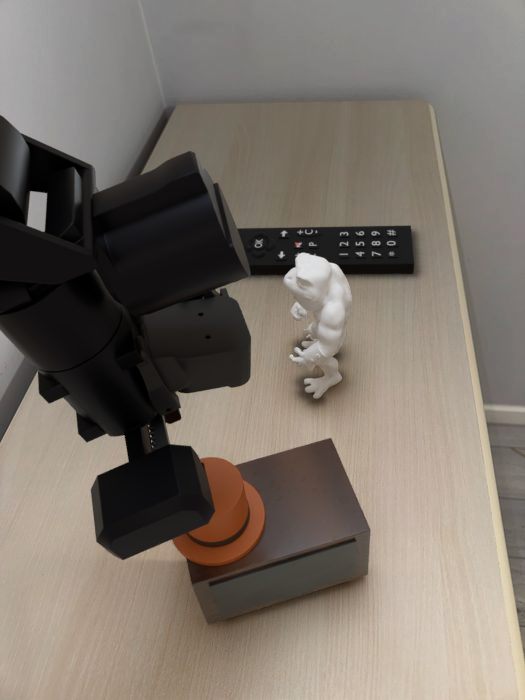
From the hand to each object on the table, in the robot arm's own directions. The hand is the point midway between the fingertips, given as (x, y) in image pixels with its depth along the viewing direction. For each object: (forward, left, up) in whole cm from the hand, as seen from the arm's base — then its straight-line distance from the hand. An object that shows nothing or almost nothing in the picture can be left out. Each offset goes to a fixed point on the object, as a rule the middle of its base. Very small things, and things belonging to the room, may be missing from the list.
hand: (186, 468), depth 48 cm
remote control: (+18, +39, -16) cm, 46 cm away
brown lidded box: (+5, -1, -16) cm, 17 cm away
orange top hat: (+1, -1, -7) cm, 7 cm away
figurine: (+16, +19, -16) cm, 30 cm away
